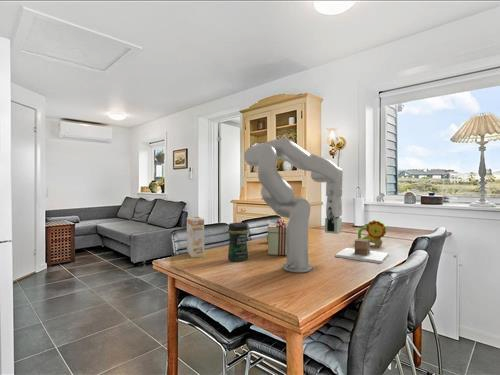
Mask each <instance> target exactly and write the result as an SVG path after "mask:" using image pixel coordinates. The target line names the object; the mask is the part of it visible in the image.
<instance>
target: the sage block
mask: <svg viewBox="0 0 500 375" xmlns="http://www.w3.org/2000/svg"><path fill="white" fill-rule="evenodd" d="M342 220H343V219H342V218H341V217H339V218H334V231H327V217H325V218H324V233H327V234H334V235H338V234H341V233H342V223H343V222H342Z"/></svg>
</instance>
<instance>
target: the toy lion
mask: <svg viewBox="0 0 500 375" xmlns="http://www.w3.org/2000/svg"><path fill="white" fill-rule="evenodd" d="M363 230H364V231H366V232H367V233H368V235H365V236H362V231H363ZM386 234H387V226H386V225H385V223H384V222H381V221H380V220H376V219H373V220H370V221H369V222H368V223H366V225H365V226H362V227H360V228H359V229H358V232H357V239H368V240H370V243H372V244H374V245H375V246H376V247H382V245H383V240H382V238H383V237H385V236H386Z"/></svg>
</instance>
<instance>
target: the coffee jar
mask: <svg viewBox="0 0 500 375" xmlns="http://www.w3.org/2000/svg"><path fill="white" fill-rule="evenodd" d="M227 232H228V236H229V242H228V244H229V245H228V253H227V259H228V260H229V261H231V262H243V261H247V260H248V258H249V252H248V242H247V240H248V239H247V236H248V233H249V229H248V223H247V222H231V223H229V224H228V229H227Z"/></svg>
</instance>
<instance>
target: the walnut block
mask: <svg viewBox="0 0 500 375" xmlns="http://www.w3.org/2000/svg"><path fill="white" fill-rule="evenodd" d="M370 243H371V242H370V240H368V239H358V238H356V239H355V240H354V249H355V254H358V255H366V256H367V255H368V254H369V253H370V251H371V250H370V249H371V244H370Z"/></svg>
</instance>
